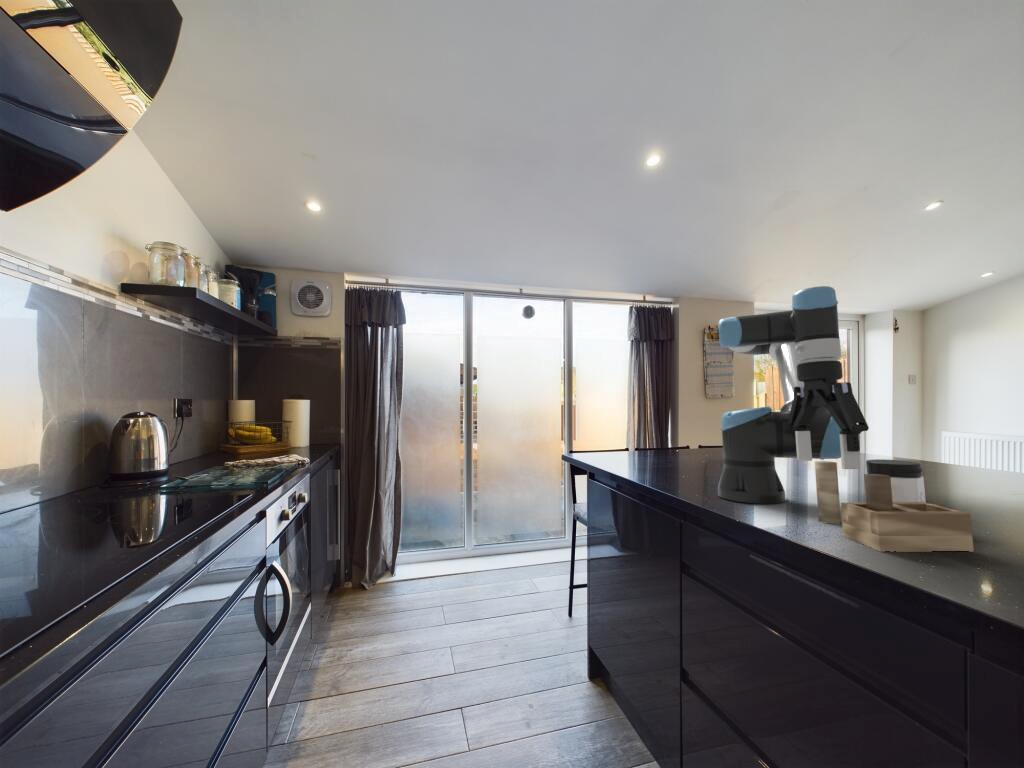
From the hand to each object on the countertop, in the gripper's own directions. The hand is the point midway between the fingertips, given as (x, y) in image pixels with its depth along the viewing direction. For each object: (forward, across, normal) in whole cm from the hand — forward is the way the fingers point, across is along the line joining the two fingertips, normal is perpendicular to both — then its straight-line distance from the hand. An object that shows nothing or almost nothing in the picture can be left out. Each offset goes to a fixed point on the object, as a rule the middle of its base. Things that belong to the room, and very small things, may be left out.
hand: (826, 464), depth 83 cm
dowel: (+12, 0, 0) cm, 12 cm away
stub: (+9, +13, 0) cm, 16 cm away
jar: (+12, 0, +13) cm, 17 cm away
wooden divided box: (+12, +13, +3) cm, 18 cm away
